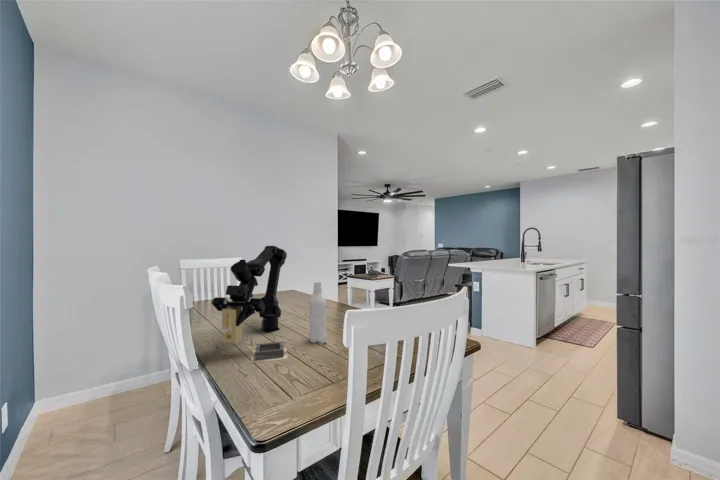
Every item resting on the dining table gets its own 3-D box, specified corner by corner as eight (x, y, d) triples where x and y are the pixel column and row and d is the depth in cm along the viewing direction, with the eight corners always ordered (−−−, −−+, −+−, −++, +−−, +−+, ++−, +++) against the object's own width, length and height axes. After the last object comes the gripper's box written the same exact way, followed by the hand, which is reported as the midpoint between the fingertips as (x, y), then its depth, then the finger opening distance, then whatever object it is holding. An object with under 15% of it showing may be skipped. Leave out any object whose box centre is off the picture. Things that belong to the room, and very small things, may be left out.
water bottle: (323, 347, 113) (323, 284, 113) (306, 345, 114) (306, 283, 114) (328, 340, 120) (328, 281, 120) (312, 339, 121) (312, 281, 121)
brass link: (228, 338, 105) (228, 306, 105) (241, 339, 104) (241, 306, 104) (222, 342, 101) (222, 309, 101) (235, 343, 100) (235, 309, 100)
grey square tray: (253, 353, 107) (253, 343, 107) (286, 349, 110) (286, 339, 110) (250, 367, 95) (250, 355, 95) (287, 362, 99) (287, 351, 99)
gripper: (214, 276, 107) (194, 313, 96) (261, 276, 105) (246, 314, 94) (226, 292, 115) (209, 328, 104) (270, 293, 113) (257, 330, 102)
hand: (230, 325), depth 101 cm, fingers closed on brass link, 5 cm apart
